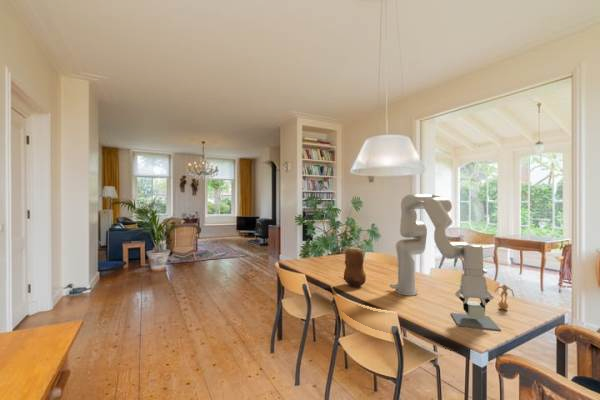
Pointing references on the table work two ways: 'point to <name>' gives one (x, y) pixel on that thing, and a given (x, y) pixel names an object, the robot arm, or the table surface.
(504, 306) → the figurine
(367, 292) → the table surface
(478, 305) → the card box
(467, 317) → the mat
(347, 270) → the brown tall rounded piece
